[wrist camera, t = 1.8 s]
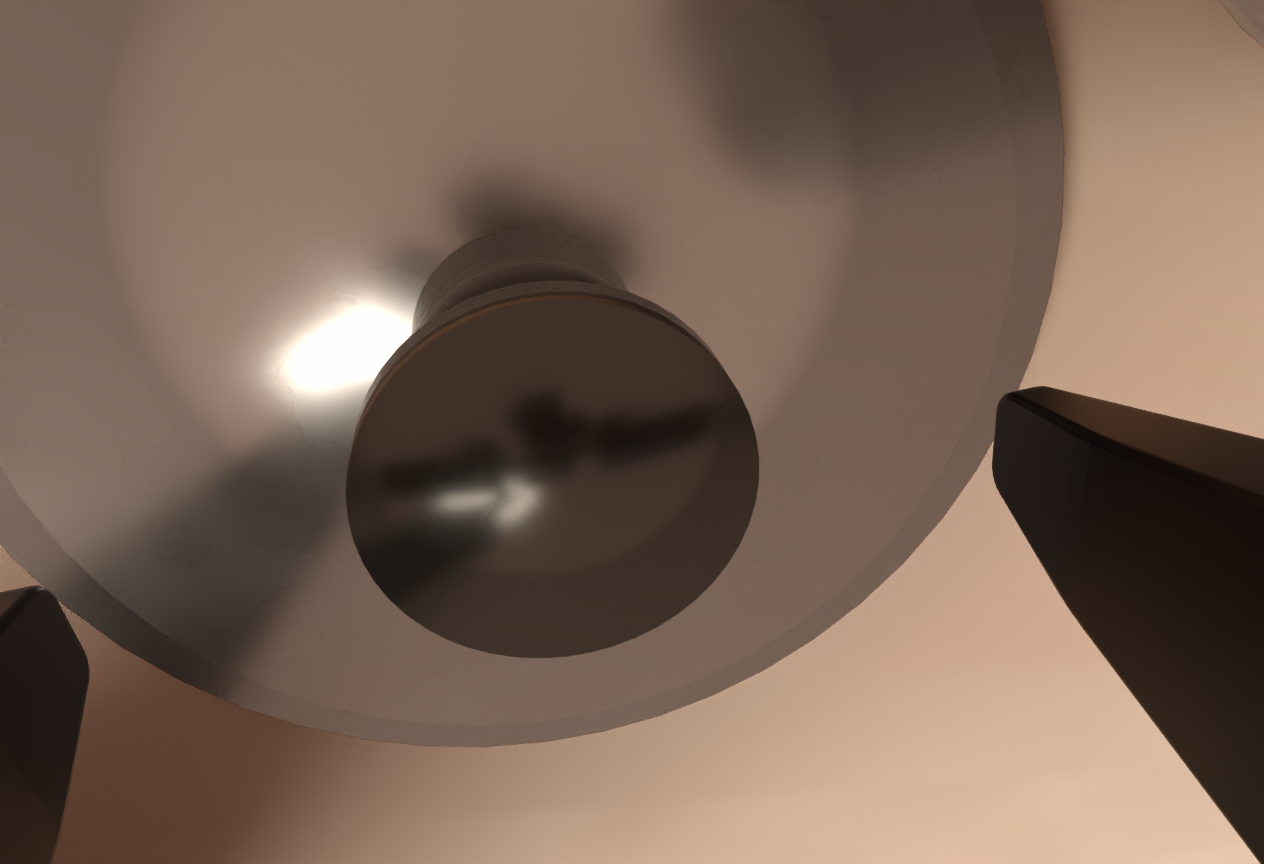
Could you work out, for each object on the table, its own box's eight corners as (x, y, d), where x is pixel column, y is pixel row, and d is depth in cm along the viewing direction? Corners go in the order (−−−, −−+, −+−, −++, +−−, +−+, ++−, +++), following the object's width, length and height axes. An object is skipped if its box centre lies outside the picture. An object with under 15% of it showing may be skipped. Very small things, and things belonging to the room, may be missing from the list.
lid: (997, 609, 19) (1185, 842, 14) (159, 798, 17) (53, 1130, 12) (1092, -483, 11) (1597, -796, 6) (-447, -316, 9) (-1361, -560, 5)
